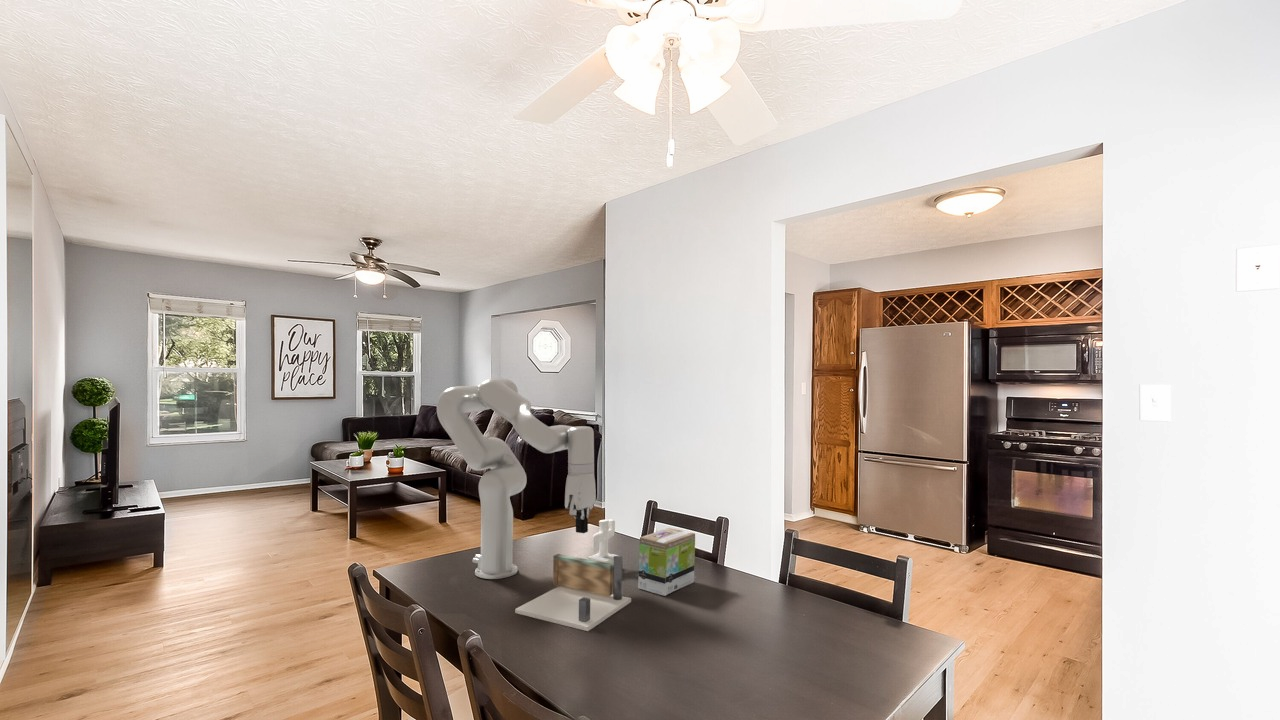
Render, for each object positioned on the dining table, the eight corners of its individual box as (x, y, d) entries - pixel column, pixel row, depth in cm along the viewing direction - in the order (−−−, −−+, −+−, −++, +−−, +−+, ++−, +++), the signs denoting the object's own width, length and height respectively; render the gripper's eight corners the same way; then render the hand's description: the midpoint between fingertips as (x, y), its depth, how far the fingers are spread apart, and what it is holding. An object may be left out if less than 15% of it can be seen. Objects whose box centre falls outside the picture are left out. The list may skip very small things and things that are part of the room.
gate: (613, 594, 160) (613, 564, 161) (609, 596, 159) (609, 566, 159) (557, 582, 169) (557, 553, 169) (553, 584, 167) (553, 555, 167)
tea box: (666, 597, 162) (666, 543, 163) (637, 589, 169) (637, 536, 169) (695, 582, 174) (695, 531, 175) (667, 575, 180) (667, 526, 181)
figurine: (584, 569, 185) (585, 521, 185) (603, 562, 192) (604, 515, 193) (603, 574, 180) (603, 524, 181) (621, 566, 188) (622, 518, 189)
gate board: (515, 612, 151) (515, 608, 151) (563, 587, 169) (563, 583, 169) (587, 631, 140) (587, 627, 140) (630, 601, 159) (631, 598, 159)
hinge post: (577, 624, 144) (578, 574, 144) (615, 599, 160) (616, 555, 160) (586, 626, 143) (586, 576, 143) (623, 601, 159) (624, 556, 159)
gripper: (584, 464, 182) (585, 525, 181) (555, 471, 169) (555, 536, 168) (605, 466, 178) (606, 527, 178) (577, 473, 165) (578, 540, 164)
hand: (581, 532), depth 173 cm, fingers closed
